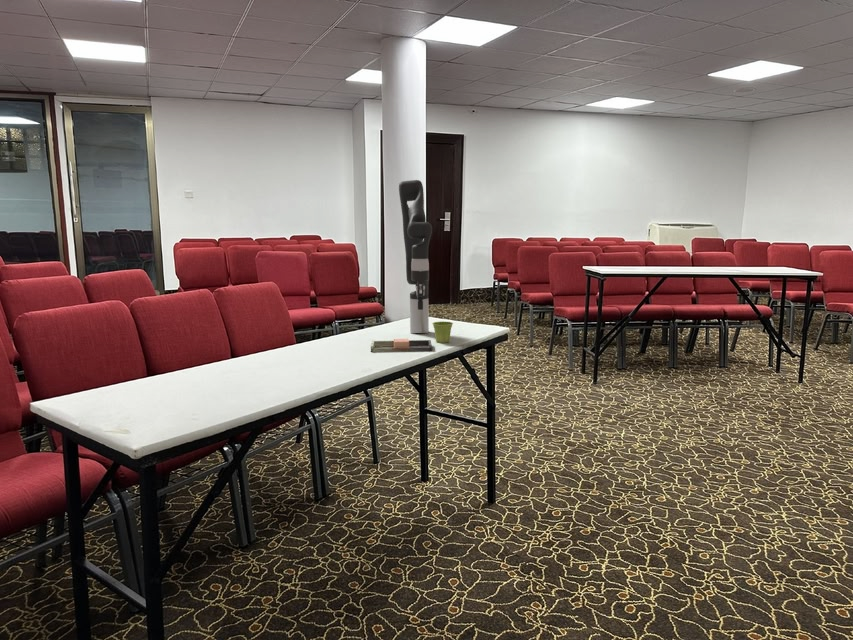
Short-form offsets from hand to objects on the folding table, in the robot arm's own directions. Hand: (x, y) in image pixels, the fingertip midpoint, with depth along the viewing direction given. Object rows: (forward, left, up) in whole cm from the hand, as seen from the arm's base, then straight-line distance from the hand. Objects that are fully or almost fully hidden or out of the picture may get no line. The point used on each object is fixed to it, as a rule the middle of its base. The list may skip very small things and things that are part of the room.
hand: (420, 309), depth 252 cm
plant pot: (-14, +11, -17) cm, 25 cm away
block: (0, -8, -17) cm, 19 cm away
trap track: (0, -8, -17) cm, 19 cm away
